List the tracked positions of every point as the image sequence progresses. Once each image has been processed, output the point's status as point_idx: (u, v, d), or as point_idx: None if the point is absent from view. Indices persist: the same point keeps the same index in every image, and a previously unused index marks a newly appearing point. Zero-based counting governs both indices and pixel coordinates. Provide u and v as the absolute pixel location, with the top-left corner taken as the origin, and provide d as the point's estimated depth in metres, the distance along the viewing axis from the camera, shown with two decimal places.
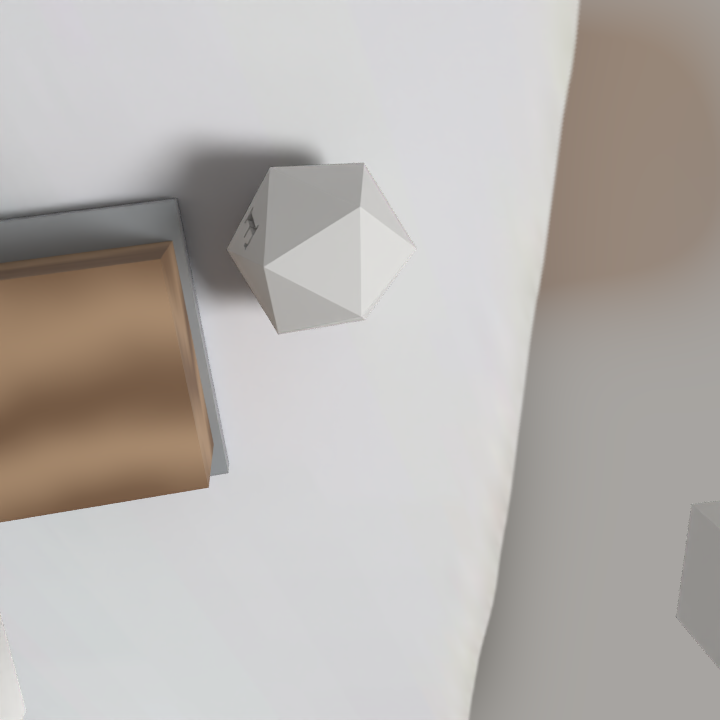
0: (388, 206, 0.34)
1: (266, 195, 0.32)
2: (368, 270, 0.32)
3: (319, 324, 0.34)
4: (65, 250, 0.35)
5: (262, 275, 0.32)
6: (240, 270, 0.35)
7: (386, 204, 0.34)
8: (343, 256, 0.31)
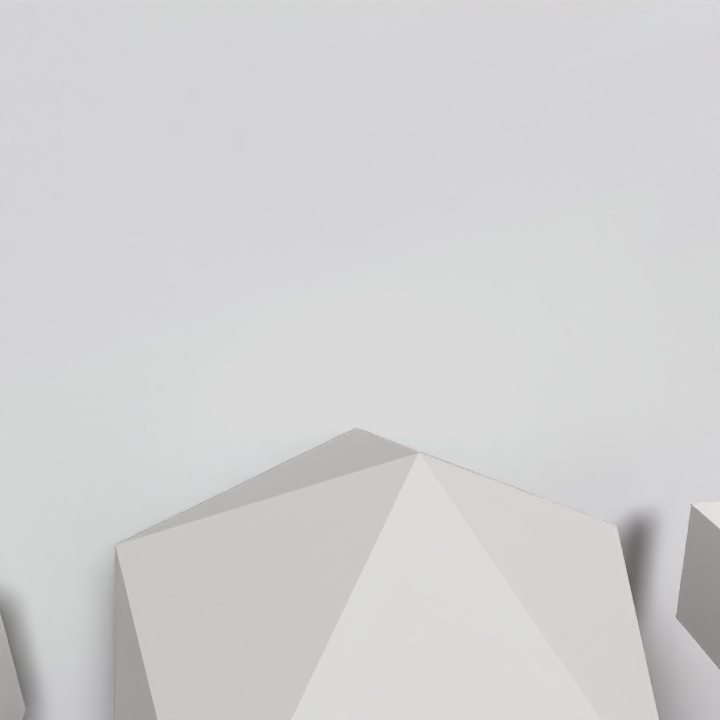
0: (252, 526, 0.09)
1: None
2: None
3: None
4: None
5: None
6: None
7: (243, 538, 0.09)
8: None
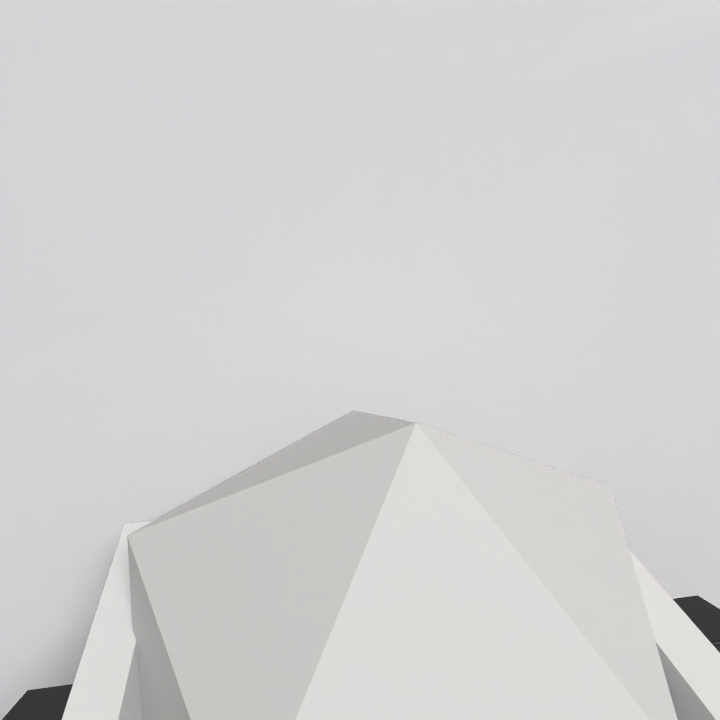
0: (259, 506, 0.10)
1: None
2: None
3: None
4: None
5: None
6: None
7: (252, 517, 0.10)
8: None
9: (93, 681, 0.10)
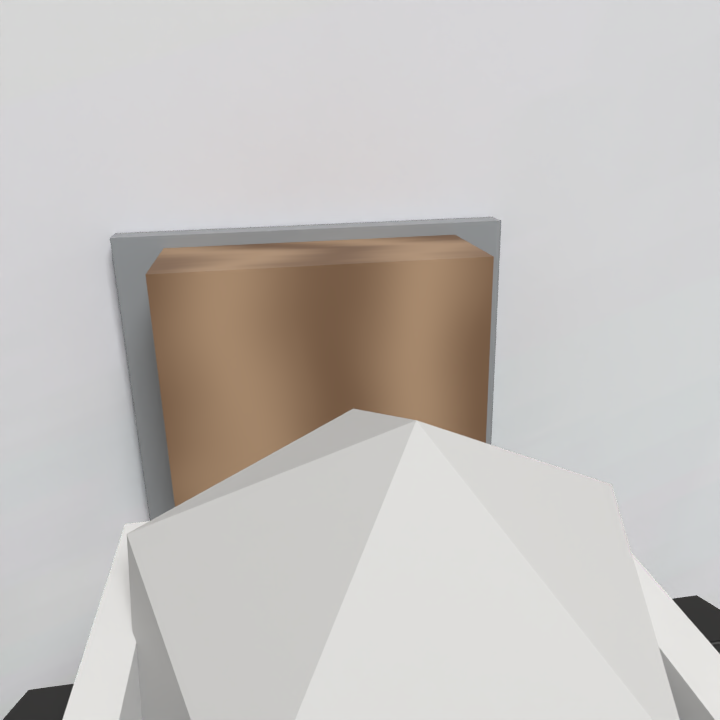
0: (259, 504, 0.10)
1: None
2: None
3: None
4: None
5: None
6: None
7: (252, 515, 0.10)
8: None
9: (94, 681, 0.10)
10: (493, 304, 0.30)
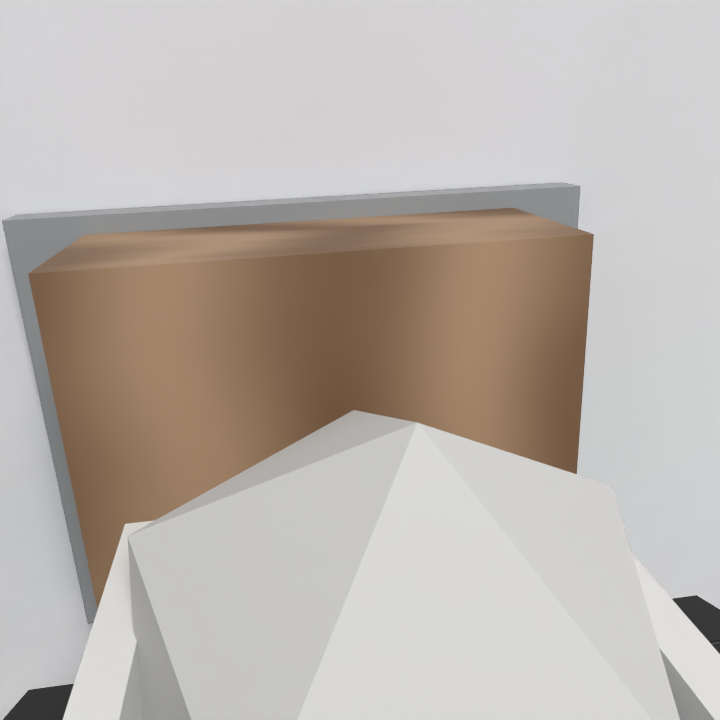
0: (260, 506, 0.10)
1: None
2: None
3: None
4: None
5: None
6: None
7: (253, 517, 0.10)
8: None
9: (94, 681, 0.10)
10: None
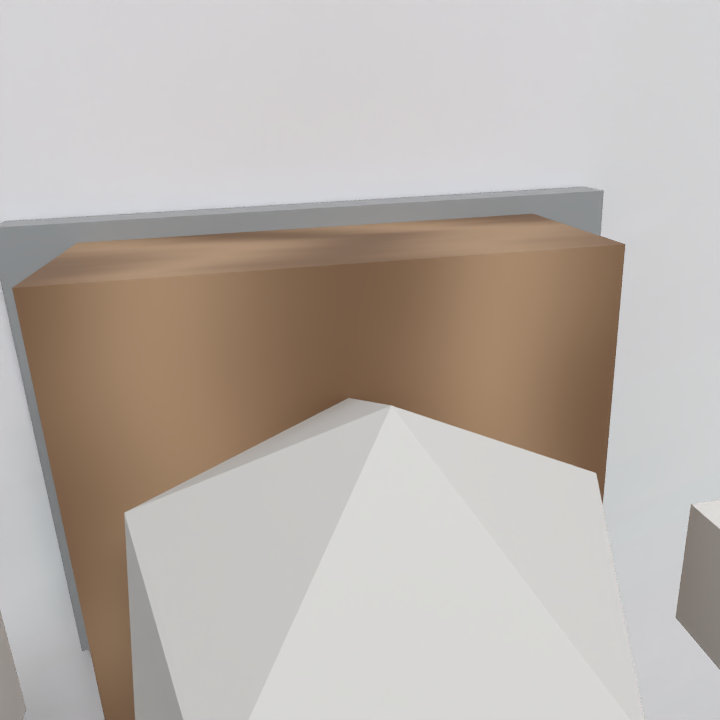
0: (245, 484, 0.10)
1: None
2: (470, 716, 0.08)
3: None
4: None
5: None
6: None
7: (237, 495, 0.10)
8: None
9: None
10: None
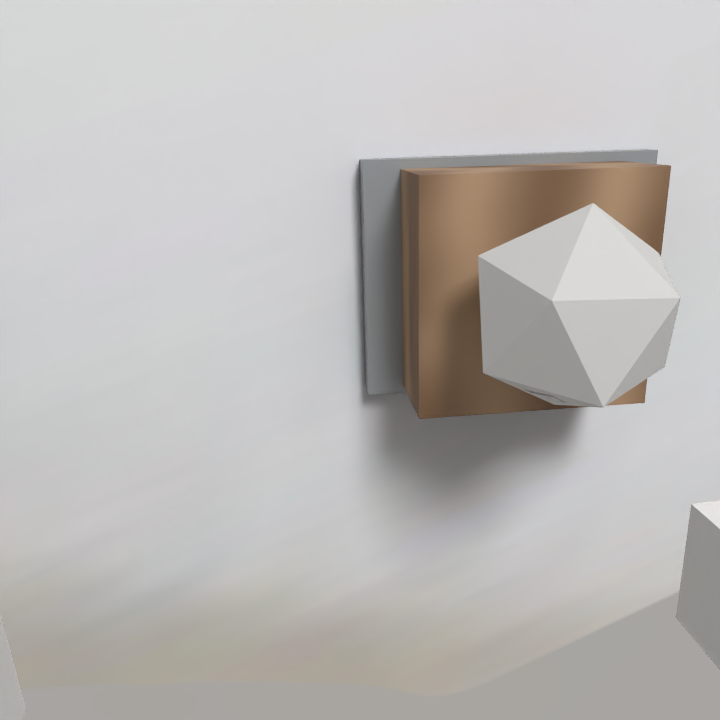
0: (535, 235, 0.28)
1: (515, 382, 0.29)
2: (624, 286, 0.26)
3: (671, 334, 0.28)
4: (397, 271, 0.38)
5: None
6: None
7: (533, 238, 0.28)
8: (606, 320, 0.26)
9: None
10: None
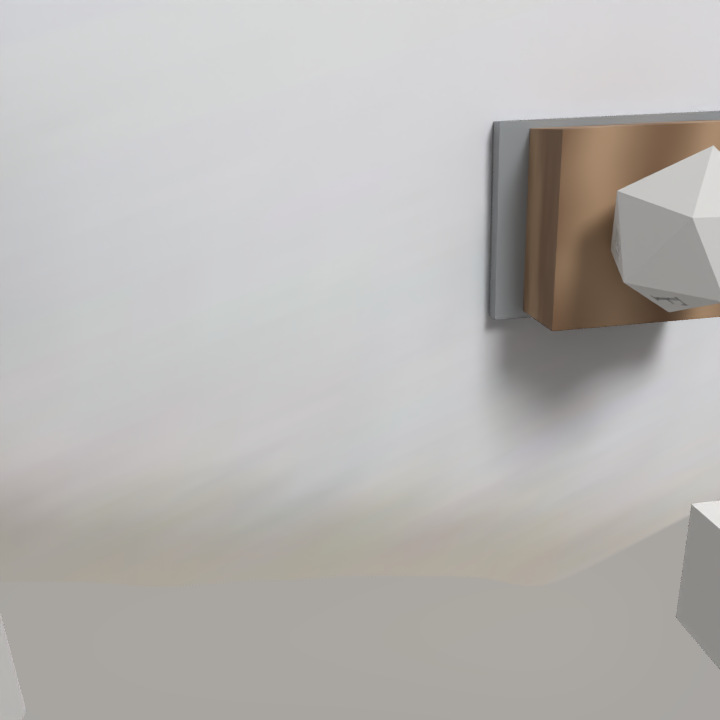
0: (666, 172, 0.37)
1: (651, 288, 0.37)
2: None
3: None
4: (523, 214, 0.46)
5: None
6: None
7: (665, 174, 0.36)
8: None
9: None
10: None
